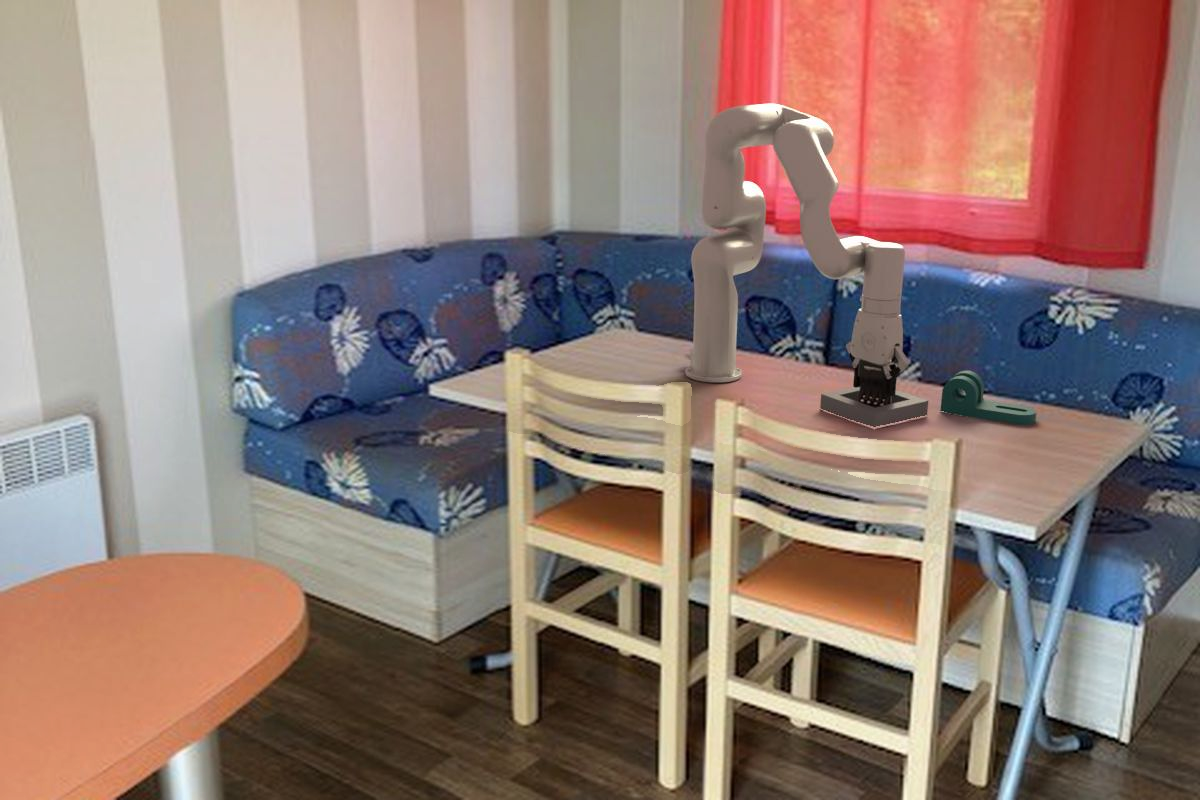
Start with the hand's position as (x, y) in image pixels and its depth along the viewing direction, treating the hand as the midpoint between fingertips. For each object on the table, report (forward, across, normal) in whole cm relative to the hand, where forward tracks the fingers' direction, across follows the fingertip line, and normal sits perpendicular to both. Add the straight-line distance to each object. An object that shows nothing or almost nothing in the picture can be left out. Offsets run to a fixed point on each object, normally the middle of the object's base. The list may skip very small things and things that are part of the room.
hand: (873, 390), depth 248 cm
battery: (+4, 0, 0) cm, 4 cm away
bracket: (+5, +14, +19) cm, 24 cm away
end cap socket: (+5, 0, 0) cm, 5 cm away
